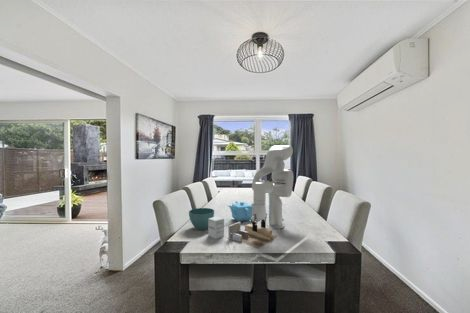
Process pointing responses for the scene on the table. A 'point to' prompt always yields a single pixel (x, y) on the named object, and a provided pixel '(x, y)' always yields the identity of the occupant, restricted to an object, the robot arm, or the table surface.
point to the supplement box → (216, 227)
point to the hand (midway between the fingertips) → (259, 229)
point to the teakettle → (241, 211)
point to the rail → (259, 232)
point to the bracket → (236, 232)
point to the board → (255, 240)
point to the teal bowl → (201, 217)
